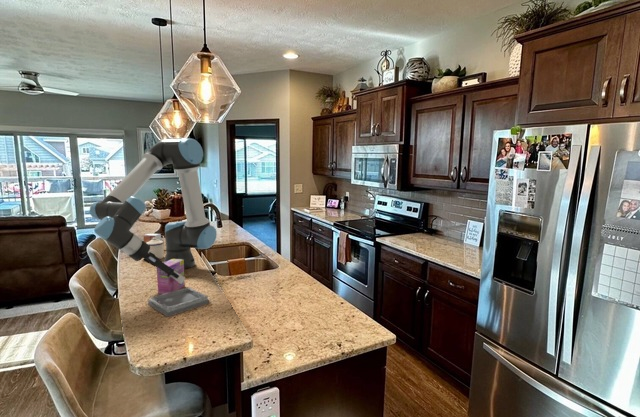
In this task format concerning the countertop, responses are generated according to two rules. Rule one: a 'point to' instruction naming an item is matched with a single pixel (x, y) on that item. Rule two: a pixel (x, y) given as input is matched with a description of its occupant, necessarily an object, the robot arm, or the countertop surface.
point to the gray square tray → (177, 300)
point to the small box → (151, 237)
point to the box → (169, 283)
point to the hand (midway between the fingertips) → (177, 277)
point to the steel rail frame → (172, 308)
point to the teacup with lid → (156, 248)
